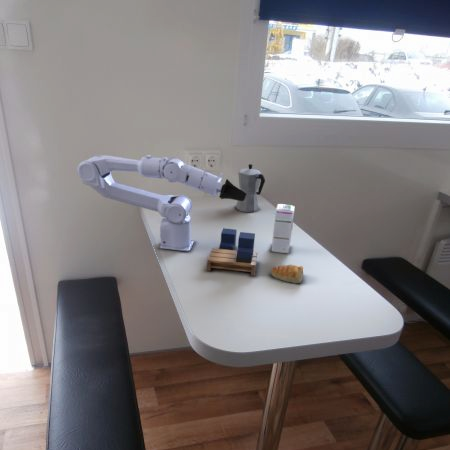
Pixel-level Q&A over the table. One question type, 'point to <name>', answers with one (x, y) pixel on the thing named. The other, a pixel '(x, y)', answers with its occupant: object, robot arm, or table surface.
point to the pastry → (288, 273)
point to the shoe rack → (229, 261)
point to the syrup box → (283, 228)
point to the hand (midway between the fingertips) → (244, 197)
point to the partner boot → (245, 247)
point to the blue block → (228, 239)
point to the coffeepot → (250, 188)
